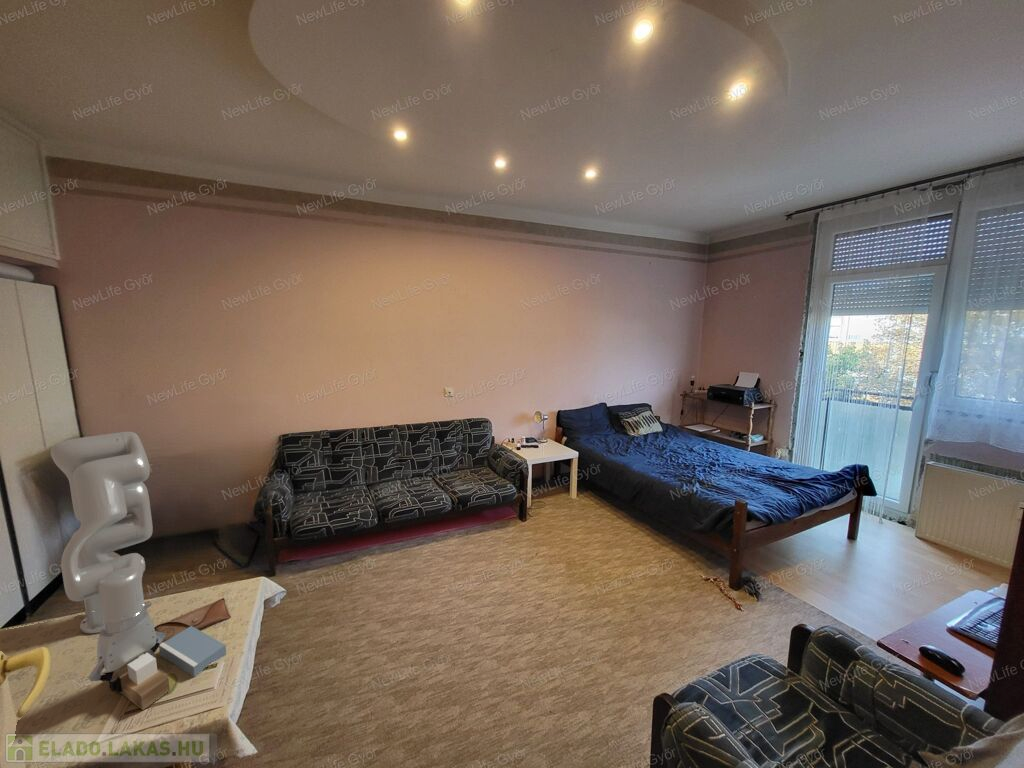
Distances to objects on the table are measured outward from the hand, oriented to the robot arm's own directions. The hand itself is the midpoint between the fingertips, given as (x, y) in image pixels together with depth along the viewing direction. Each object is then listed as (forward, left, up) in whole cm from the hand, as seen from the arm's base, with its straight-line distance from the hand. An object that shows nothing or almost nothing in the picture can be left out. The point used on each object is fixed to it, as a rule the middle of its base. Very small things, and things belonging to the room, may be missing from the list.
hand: (132, 679), depth 102 cm
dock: (+3, +12, -1) cm, 12 cm away
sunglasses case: (-8, +18, -2) cm, 20 cm away
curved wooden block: (+3, 0, -1) cm, 3 cm away
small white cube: (+5, 0, +3) cm, 5 cm away
